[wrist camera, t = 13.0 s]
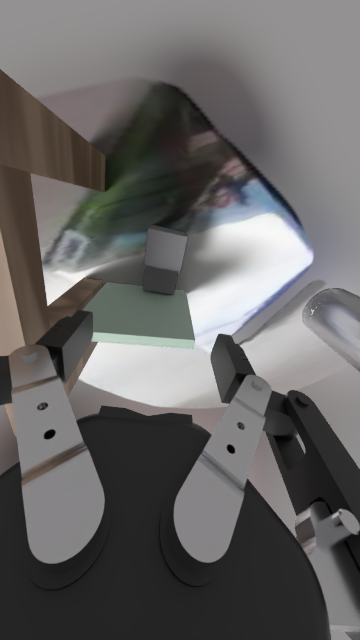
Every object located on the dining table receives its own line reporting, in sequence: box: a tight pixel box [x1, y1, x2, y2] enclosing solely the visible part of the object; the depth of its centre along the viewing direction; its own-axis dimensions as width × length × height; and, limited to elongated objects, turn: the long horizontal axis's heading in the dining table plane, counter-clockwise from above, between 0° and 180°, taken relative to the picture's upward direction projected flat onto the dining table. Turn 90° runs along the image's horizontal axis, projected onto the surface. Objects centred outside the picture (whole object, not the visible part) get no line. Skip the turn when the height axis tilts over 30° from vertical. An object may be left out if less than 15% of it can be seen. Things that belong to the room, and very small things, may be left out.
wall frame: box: [0, 70, 106, 436], centre depth 23 cm, size 3×28×20 cm, turn 168°
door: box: [83, 282, 195, 349], centre depth 28 cm, size 2×14×15 cm, turn 83°
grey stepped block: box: [142, 225, 188, 295], centre depth 29 cm, size 5×9×6 cm, turn 168°
